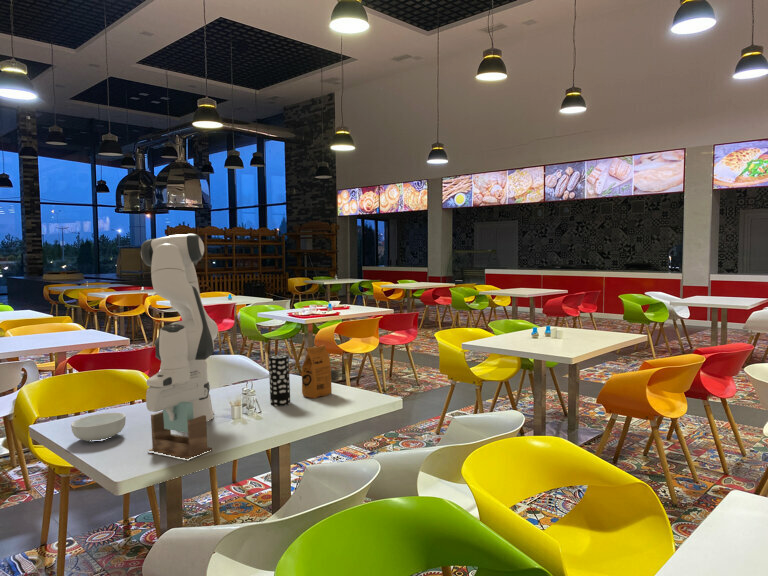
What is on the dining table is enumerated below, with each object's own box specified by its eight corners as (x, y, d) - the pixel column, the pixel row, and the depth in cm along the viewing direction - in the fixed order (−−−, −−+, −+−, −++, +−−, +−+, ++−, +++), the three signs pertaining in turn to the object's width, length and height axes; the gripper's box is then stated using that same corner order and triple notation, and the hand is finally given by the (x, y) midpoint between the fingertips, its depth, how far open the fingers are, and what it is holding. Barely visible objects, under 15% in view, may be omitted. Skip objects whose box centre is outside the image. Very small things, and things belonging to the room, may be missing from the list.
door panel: (164, 428, 178) (162, 401, 177) (170, 426, 180) (168, 399, 179) (188, 432, 172) (186, 404, 172) (194, 430, 175) (192, 402, 174)
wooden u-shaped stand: (148, 453, 177) (145, 416, 176) (173, 443, 185) (171, 408, 185) (187, 461, 168) (185, 422, 167) (212, 450, 177) (210, 414, 176)
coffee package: (299, 396, 245) (297, 347, 244) (320, 390, 254) (318, 343, 253) (313, 399, 238) (311, 349, 237) (334, 393, 247) (333, 345, 246)
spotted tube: (266, 405, 230) (264, 358, 229) (276, 400, 238) (274, 354, 237) (284, 406, 228) (282, 358, 227) (293, 401, 236) (292, 355, 235)
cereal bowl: (114, 428, 205) (112, 409, 205) (135, 436, 194) (133, 416, 194) (64, 440, 192) (63, 420, 192) (84, 450, 181) (82, 429, 181)
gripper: (194, 368, 186) (196, 409, 187) (141, 381, 168) (144, 426, 169) (207, 370, 183) (209, 411, 184) (155, 383, 165) (158, 428, 166)
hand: (178, 418), depth 176 cm, fingers closed on door panel, 2 cm apart
